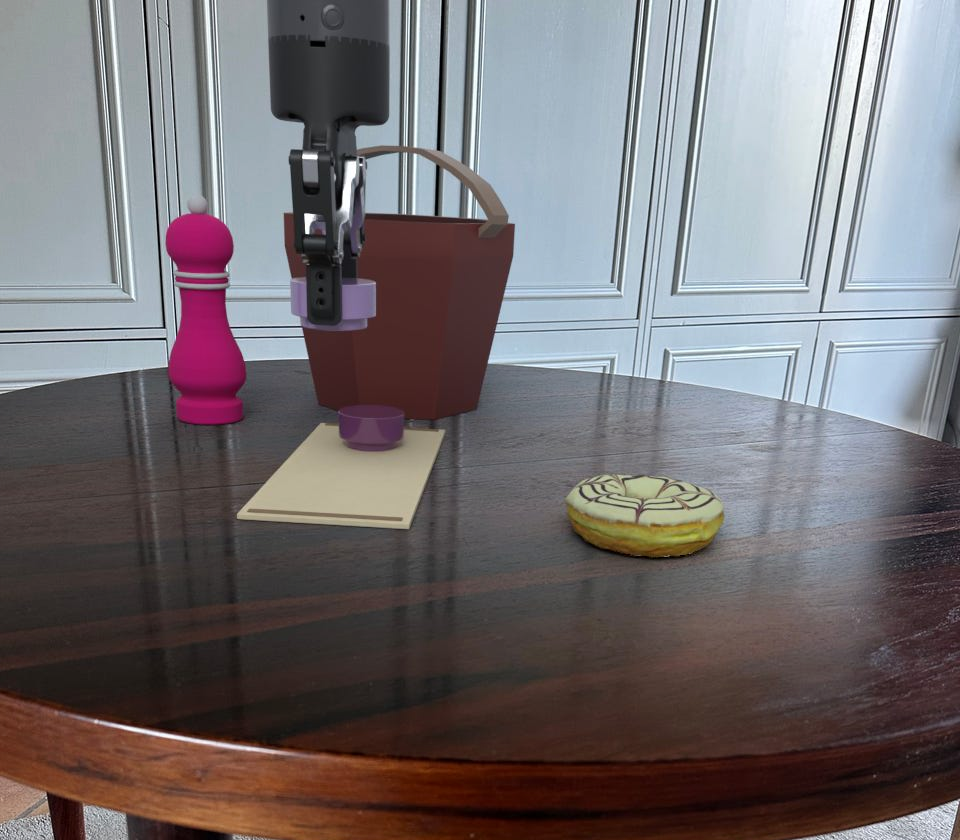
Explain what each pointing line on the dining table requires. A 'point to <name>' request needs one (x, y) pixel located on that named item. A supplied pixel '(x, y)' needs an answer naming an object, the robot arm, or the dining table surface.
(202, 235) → the pepper mill
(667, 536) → the decorated donut
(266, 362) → the dining table surface
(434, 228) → the bucket
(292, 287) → the lilac dish
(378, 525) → the placemat
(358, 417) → the plum dish
